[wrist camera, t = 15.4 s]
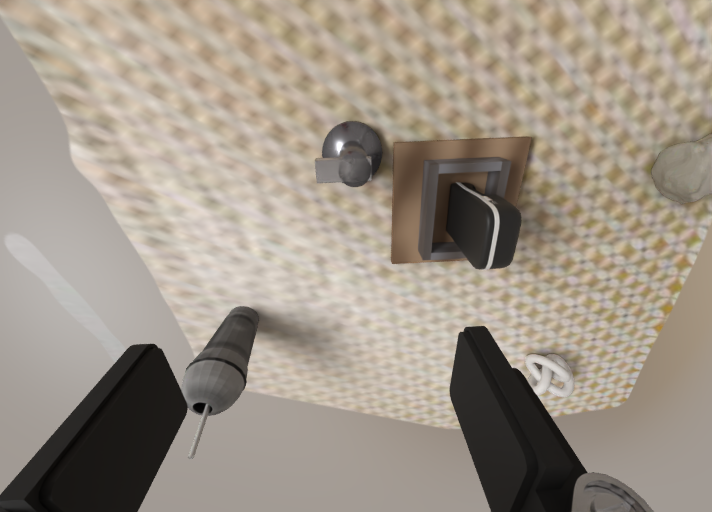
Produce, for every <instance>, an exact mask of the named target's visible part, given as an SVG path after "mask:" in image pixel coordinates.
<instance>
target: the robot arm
mask: <svg viewBox="0 0 712 512" xmlns="http://www.w3.org/2000/svg"><path fill="white" fill-rule="evenodd" d="M450 397H451V401H452V403H453V406H454V409H455V412H456V415H457V417H458V420H459V423H460V426H461V429H462V431H463V434H464V437H465V439H466V442H467V445H468V448H469V451H470V454H471V456H472V459H473V462H474V465H475V468H476V470H477V473H478V475H479V479H480V481H481V484H482V487H483V490H484V492H485V495H486V498H487V501H488V504H489V507H490V509H491V512H654V511H653V510H652V509H651V508H650V507H649V505H648V504H647V503H646V502H645V500H644V499H643V498H641V497H640V496H639V495H638V494H637V493H636V492H635V491H634V490H632V489H631V488H630V487H628V486H627V485H625V484H624V483H622V482H620V481H619V480H617V479H615V478H613V477H610V476H608V475H606V474H601V473H594V472H592V473H587V471H586V470H585V468H584V467H583V465H582V464H581V462H580V461H579V459H578V457H577V456H576V454H575V453H574V451H573V450H572V448H571V447H570V445H569V444H568V442H567V441H566V439H565V438H564V436H563V435H562V433H561V432H560V430H559V428H558V427H557V425H556V424H555V422H554V421H553V419H552V418H551V416H550V415H549V413H548V412H547V410H546V409H545V407H544V406H543V404H542V402H541V401H540V399H539V398H538V396H537V395H536V393H535V392H534V390H533V389H532V387H531V386H530V384H529V383H528V381H527V380H526V378H525V377H524V375H523V374H522V373H521V371H519V370H518V369H516V368H512V367H511V366H510V364H509V362H508V361H507V359H506V358H505V356H504V355H503V353H502V351H501V350H500V348H499V347H498V345H497V343H496V342H495V340H494V339H493V337H492V335H491V334H490V332H489V331H488V329H487V328H486V327H485V326H476V327H466V328H465V329H464V332H460V333H459V336H458V342H457V348H456V354H455V360H454V366H453V372H452V378H451V384H450ZM187 408H188V406H187V402H186V400H185V398H184V395H183V393H182V391H181V389H180V387H179V385H178V383H177V381H176V378H175V376H174V374H173V372H172V370H171V368H170V366H169V363H168V361H167V359H166V357H165V355H164V353H163V351H162V349H160V348H158V347H157V346H156V345H155V344H139V345H132V346H130V347H129V348H128V349H127V350H126V351H125V352H124V353H123V355H122V356H121V357H120V358H119V359H118V360H117V362H116V363H115V364H114V365H113V366H112V367H111V368H110V370H109V371H108V372H107V373H106V374H105V375H104V376H103V378H102V379H101V380H100V381H99V382H98V383H97V384H96V386H95V387H94V388H93V389H92V390H91V391H90V393H89V394H88V395H87V396H86V397H85V398H84V399H83V401H82V402H81V403H80V404H79V405H78V406H77V407H76V409H75V410H74V411H73V412H72V413H71V415H70V416H69V417H68V418H67V419H66V420H65V421H64V422H63V424H62V425H61V426H60V427H59V428H58V429H57V430H56V431H55V433H54V434H53V435H52V436H51V437H50V438H49V440H48V441H47V442H46V443H45V444H44V445H43V446H42V448H41V449H40V450H39V451H38V452H37V453H36V454H35V456H34V457H33V458H32V459H31V460H30V461H29V462H28V464H27V465H26V466H25V467H24V468H23V469H22V471H21V472H20V473H19V474H18V475H17V476H16V477H15V479H14V480H13V481H12V482H11V483H10V484H9V485H8V487H7V488H6V489H5V490H4V491H3V492H2V494H1V495H0V512H137V511H138V509H139V508H140V506H141V504H142V502H143V500H144V498H145V496H146V494H147V492H148V490H149V488H150V486H151V484H152V482H153V480H154V478H155V476H156V474H157V472H158V470H159V468H160V466H161V464H162V462H163V460H164V458H165V456H166V454H167V452H168V450H169V448H170V446H171V444H172V442H173V440H174V438H175V436H176V434H177V432H178V430H179V428H180V426H181V424H182V422H183V420H184V418H185V416H186V413H187Z"/></svg>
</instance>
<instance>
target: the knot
mask: <svg viewBox="0 0 712 512" xmlns="http://www.w3.org/2000/svg"><path fill="white" fill-rule="evenodd" d="M535 363H538V364H541V365H542V368H540V369H538V368H537V366H536V365H535ZM525 364H526V366H527V368H528V370H529V371H530V372H531V375H530V376H529V378H528V383H529V384H530V386H531V387H532V389H533V390H534V392H535V393H536V395H542V394H543V393H545V392H546V391H547V390H548V391H549V392H551V393H552V394H554V395H556V396H559V397H567V396H569V395H571V394H572V392H573V390H574V377H573V374H572V371H571V369H570V367H569V366H568V364H567V363H566V362H565V360H564V359H562V358H561V357H560V356H558V355H556V354H549V355H547V356H546V357H544V356H541V355H537V354H530V355H527V356H526V358H525ZM551 378H553V379H556V380H558V381H561V382H564V385H563V387H562V388H559V387H557V386H555V385H554V384H553V383H551ZM537 382H539V383H538V384H537Z"/></svg>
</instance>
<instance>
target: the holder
mask: <svg viewBox="0 0 712 512" xmlns="http://www.w3.org/2000/svg"><path fill="white" fill-rule="evenodd" d="M531 139H532V137H506V138H483V139H460V140H437V141H414V142H394V154H393V199H392V245H391V262H392V264H400V263H420V262H440V261H460V260H468V259H467V258H466V257H465V256H464V254H463V253H462V252H461V250H460V249H459V247H458V246H457V244H456V243H455V242H454V240H453V239H452V238H451V236H450V235H449V234H448V233H447V231H446V224H447V213H448V204H449V194H450V186H451V184H452V183H456V182H460V183H463V182H465V183H470V184H472V185H474V186H475V188H476V190H477V191H479V192H481V193H483V194H484V195H498V196H501V197H502V198H504V199H506V200H507V201H509V202H510V203H511V204H513V205H514V206H515V207H516V205H517V201H518V197H519V192H520V188H521V183H522V179H523V174H524V170H525V166H526V161H527V157H528V152H529V148H530V143H531Z"/></svg>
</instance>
